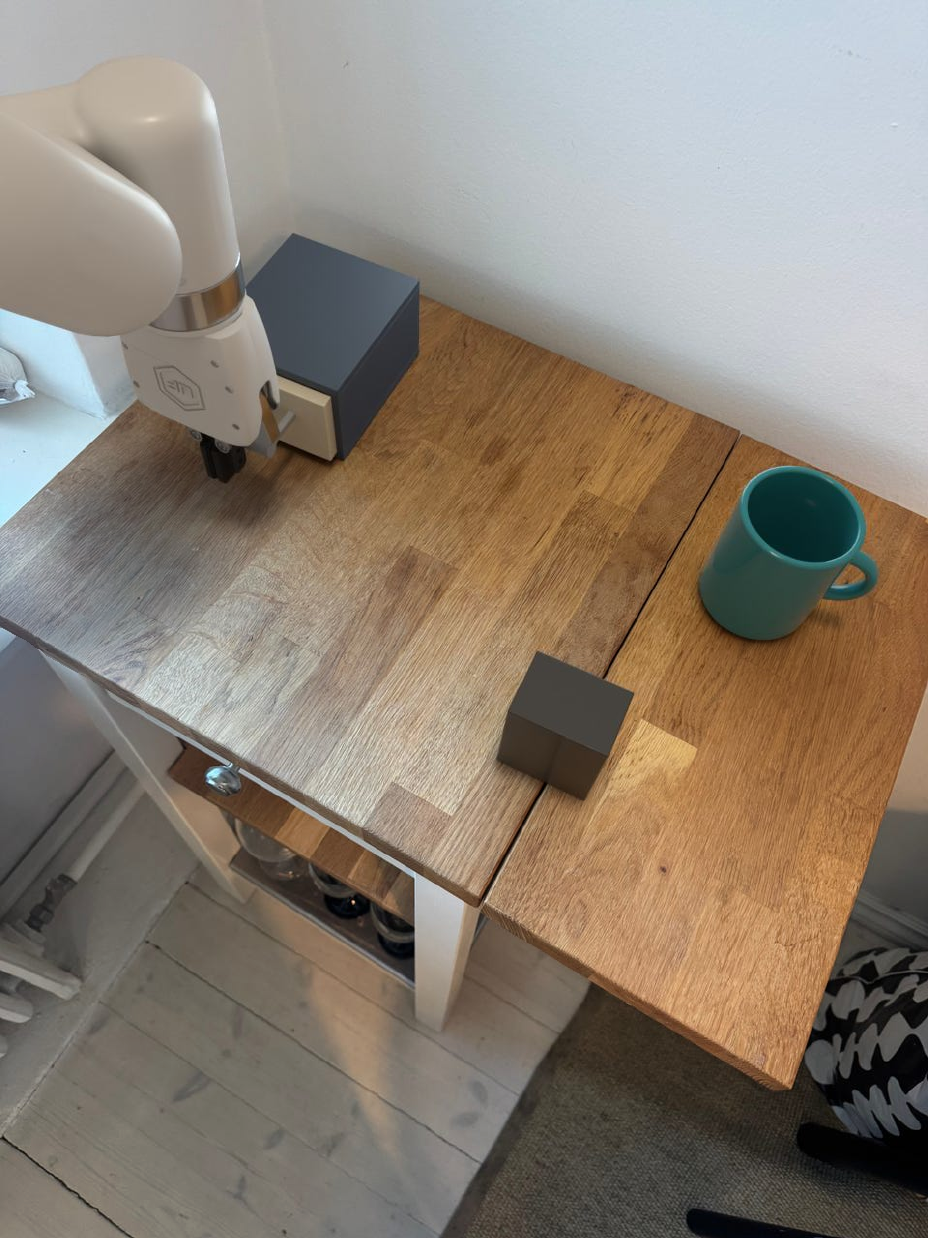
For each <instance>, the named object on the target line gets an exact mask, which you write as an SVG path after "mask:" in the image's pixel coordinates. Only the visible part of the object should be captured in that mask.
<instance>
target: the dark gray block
mask: <svg viewBox="0 0 928 1238" xmlns="http://www.w3.org/2000/svg"><path fill="white" fill-rule="evenodd" d="M634 696H635V691H632V690H630V689H627V688H625V687H623V686H621V685H618V684H615V683H614V682H611V681H609V680H607V679H605V678H603V677H599V676H597V675H595V674H592V673H591V672H588V671H586V670H583V669H581V668H579V667H577V666H575V665H572V664H570V663H568V662H565V661H564V660H561V659H559V658H557V657H554V656H551V655H549V654H547V653H545V652H543V651H540V650H536V651H535V653H534V656H533V658H532V660H531V662H530V664H529V666H528V668H527V670H526V671H525V674H524V676H523V678H522V680H521V683H520V684H519V687H518V688H517V691H516V693H515V695H514V697H513V698H512V701H511V703H510V705H509V707H508V709H507V712H506V716H505V720H504V724H503V729H502V733H501V738H500V742H499V746H498V751H497V755H496V761H497V762H500V763H502V764H504V765H507V766H509V767H511V768H513V769H515V770H517V771H520V772H521V773H524V774H526V775H528V776H530V777H532V778H535V779H537V780H539V781H541V782H543V783H545V784H547V785H550V786H552V787H553V788H556V789H558V790H560V791H562V792H565V793H567V794H569V795H571V796H574V797H576V798H578V799H580V800H582V801H586V799H587V797H588V795H589V794H590V792H591V790H592V788H593V786H594V784H595V783H596V781H597V779H598V776H599V775H600V773H601V772H602V770H603V768H604V766H605V764H606V762H607V760H608V759H609V756H610V754H611V752H612V749H613V747H614V745H615V743H616V740H617V737H618V735H619V732H620V730H621V728H622V725H623V723H624V720H625V718H626V716H627V713H628V711H629V709H630V706H631V703H632V701H633V699H634Z"/></svg>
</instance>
